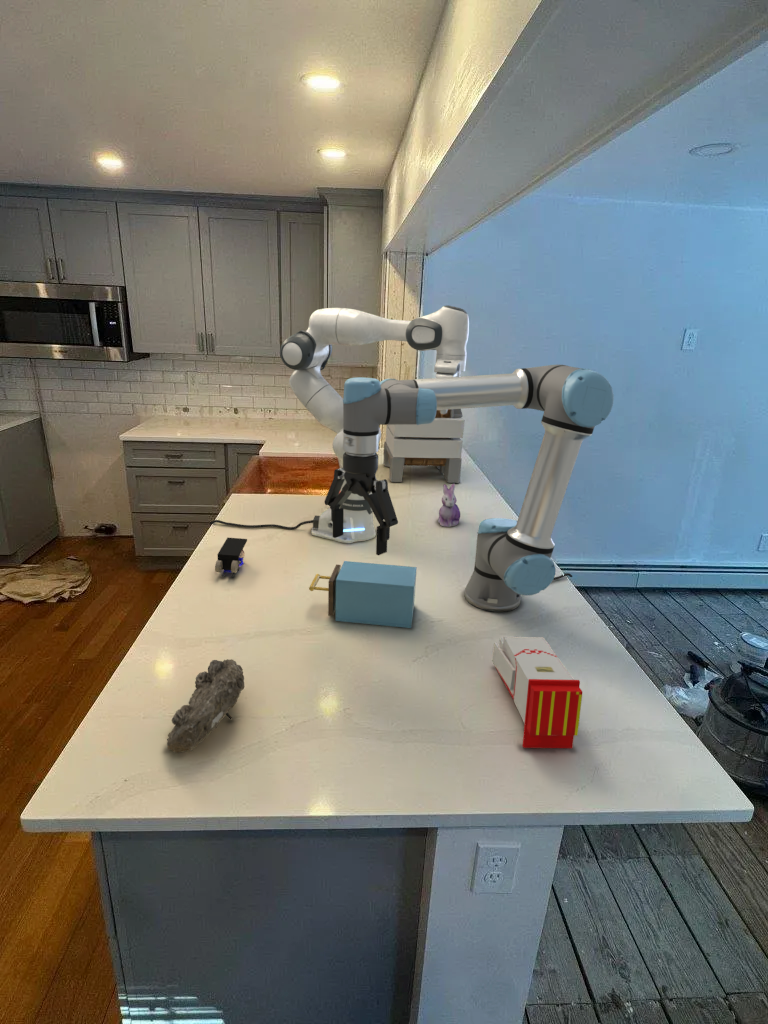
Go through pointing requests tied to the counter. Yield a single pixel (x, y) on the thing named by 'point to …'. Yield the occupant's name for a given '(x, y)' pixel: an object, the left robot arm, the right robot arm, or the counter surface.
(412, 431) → the transformer
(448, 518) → the figurine
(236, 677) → the fossil
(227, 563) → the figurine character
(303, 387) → the left robot arm
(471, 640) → the counter surface
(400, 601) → the cabinet
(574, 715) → the toy
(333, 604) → the drawer
